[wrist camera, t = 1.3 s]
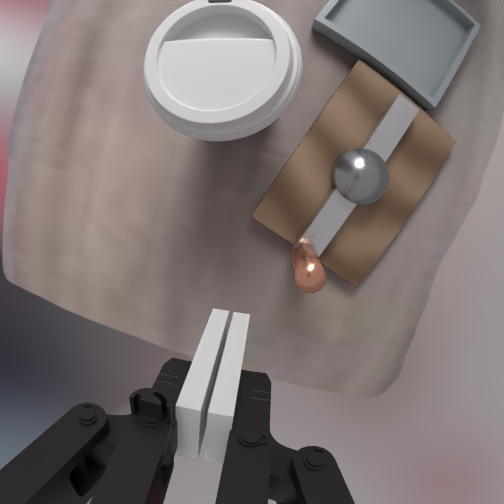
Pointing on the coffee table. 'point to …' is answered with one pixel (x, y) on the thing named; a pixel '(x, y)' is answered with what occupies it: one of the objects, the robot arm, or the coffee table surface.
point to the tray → (403, 40)
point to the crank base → (320, 167)
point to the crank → (350, 191)
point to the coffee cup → (222, 69)
